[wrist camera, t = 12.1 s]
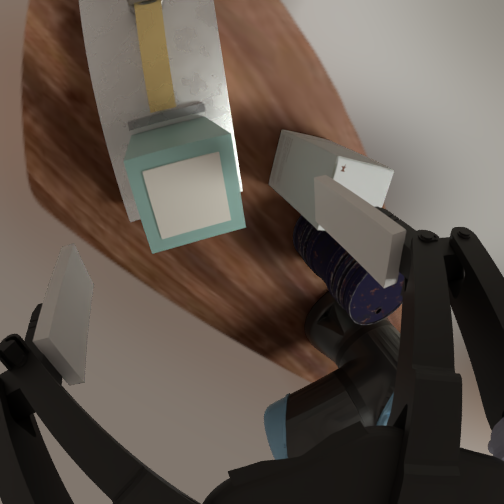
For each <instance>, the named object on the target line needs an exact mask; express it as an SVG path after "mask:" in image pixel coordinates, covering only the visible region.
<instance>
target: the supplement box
mask: <svg viewBox="0 0 504 504" xmlns="http://www.w3.org/2000/svg"><path fill="white" fill-rule="evenodd" d="M393 174H394V171H393V170H392V169H390V168H388V167H386V166H385V165H383V164H381V163H379V162H377V161H374V160H372V159H370V158H368V157H366V156H364V155H362V154H359V153H357V152H355V151H353V150H350V149H348V148H346V147H344V146H341V145H339V144H337V143H335V142H332V141H330V140H327V139H323V138H319V137H315V136H311V135H307V134H302V133H298V132H293V131H288V130H281V134H280V138H279V142H278V146H277V150H276V154H275V158H274V162H273V167H272V171H271V175H270V179H269V185H270V186H271V187H272V188H273V189H274V190H275V191H276V192H277V193H278V194H279V195H281V196H282V197H283V198H284V199H285V200H286V201H287V202H288V203H289V204H290V205H291V206H293V207H294V208H295V209H296V210H297V211H298V212H299V213H300V214H301V215H302V216H303V217H304V218H306V219H307V220H308V221H309V222H310V223H311V224H312V225H313V226H314V227H315V228H316V229H317V230H324V229H323V228H322V227H321V226H320V225H319V224H318V223H317V222H316V221H315V192H314V177H318V176H323V175H327V176H329V177H330V178H332V179H333V180H335V181H336V182H338V183H340V184H341V185H343V186H344V187H346V188H347V189H349V190H350V191H352V192H353V193H355V194H356V195H358V196H359V197H361V198H362V199H364V200H365V201H367V202H368V203H369V204H371V205H372V206H374V207H376V206H378V207H380V208H382V206H383V203H384V200H385V197H386V194H387V191H388V188H389V185H390V182H391V179H392V177H393ZM324 231H325V230H324Z"/></svg>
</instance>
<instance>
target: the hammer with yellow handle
mask: <svg viewBox="0 0 504 504" xmlns="http://www.w3.org/2000/svg"><path fill="white" fill-rule="evenodd" d="M127 3H128V7H129V9H130V11H131V12H132V13H133V14H134V15H135V16H136V24H137V32H138V39H139V46H140V53H141V60H142V66H143V73H144V79H145V85H146V91H147V97H148V102H149V108H150V113H153V112H157V111H161V110H166V109H170V108H175V107H176V103H175V97H174V90H173V84H172V78H171V71H170V64H169V58H168V51H167V43H166V36H165V29H164V21H163V13H162V6H163V3H164V0H127Z"/></svg>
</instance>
